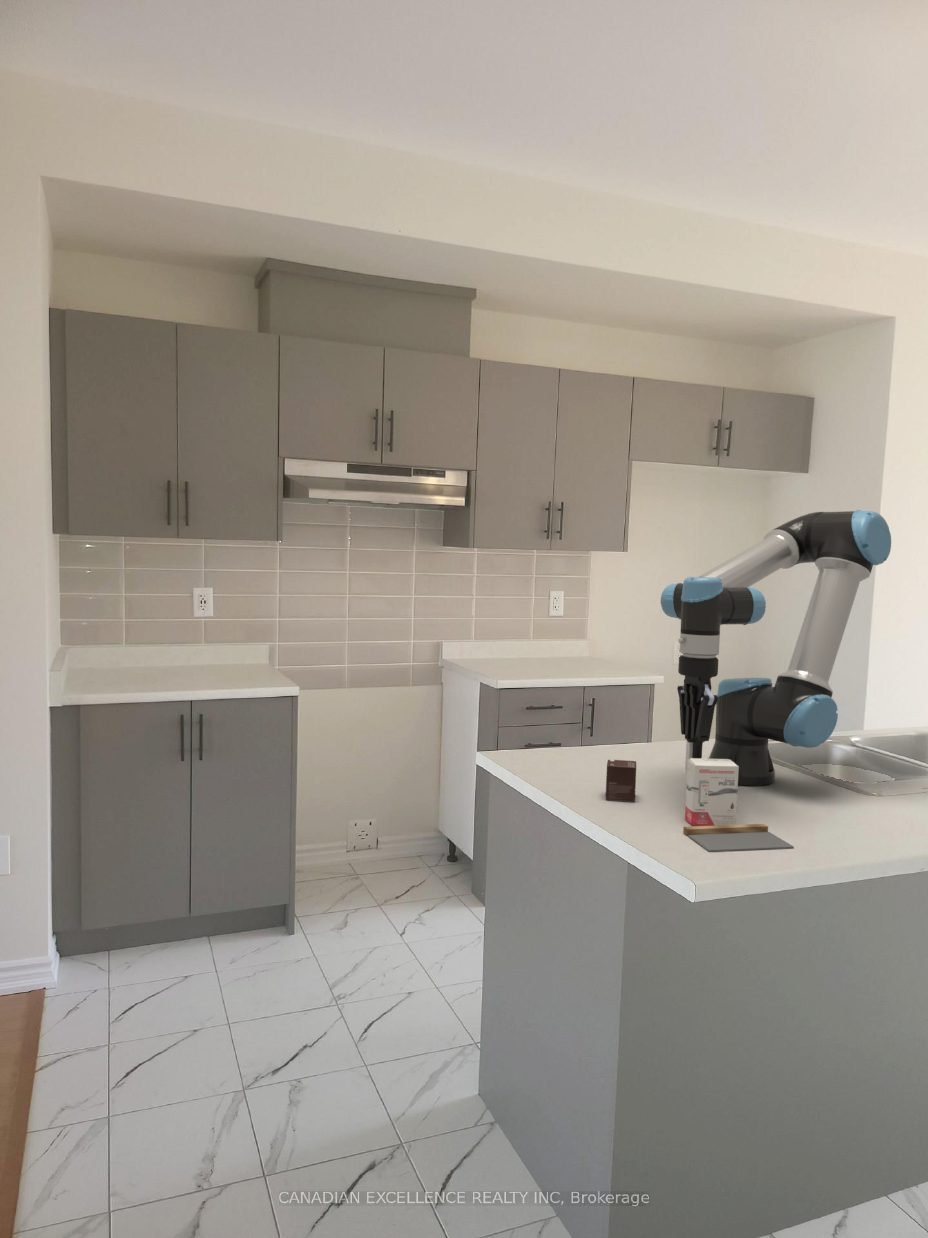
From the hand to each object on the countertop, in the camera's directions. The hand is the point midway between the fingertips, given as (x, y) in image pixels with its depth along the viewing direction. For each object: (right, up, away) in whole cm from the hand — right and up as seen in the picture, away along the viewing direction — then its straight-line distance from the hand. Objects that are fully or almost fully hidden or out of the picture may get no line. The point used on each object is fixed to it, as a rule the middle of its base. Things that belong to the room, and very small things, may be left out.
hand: (693, 773), depth 172 cm
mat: (+3, -9, -18) cm, 21 cm away
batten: (+3, -9, -13) cm, 16 cm away
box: (-13, -7, +8) cm, 17 cm away
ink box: (+1, -8, -7) cm, 11 cm away
